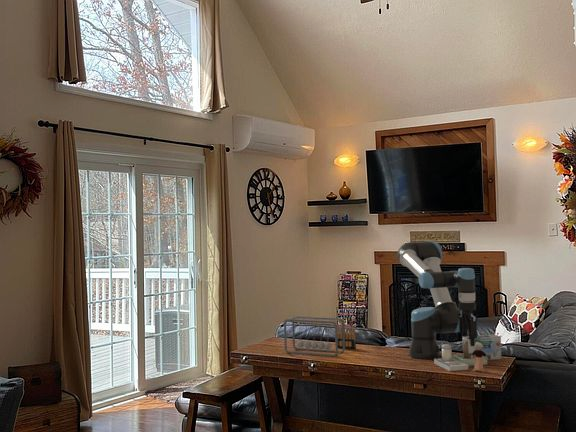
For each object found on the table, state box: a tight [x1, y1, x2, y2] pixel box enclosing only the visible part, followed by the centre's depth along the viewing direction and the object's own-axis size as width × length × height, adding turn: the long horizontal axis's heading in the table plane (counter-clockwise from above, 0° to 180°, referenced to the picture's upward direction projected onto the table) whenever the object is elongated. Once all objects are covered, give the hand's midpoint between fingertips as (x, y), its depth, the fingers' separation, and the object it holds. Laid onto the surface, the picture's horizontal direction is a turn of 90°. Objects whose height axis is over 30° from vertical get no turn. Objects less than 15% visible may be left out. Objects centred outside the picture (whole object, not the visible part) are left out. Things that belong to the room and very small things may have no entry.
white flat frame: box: [433, 358, 469, 372], centre depth 288 cm, size 16×9×3 cm, turn 11°
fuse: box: [441, 343, 453, 362], centre depth 292 cm, size 4×4×9 cm
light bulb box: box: [474, 333, 502, 361], centre depth 303 cm, size 11×7×11 cm, turn 103°
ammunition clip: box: [337, 325, 357, 350], centre depth 337 cm, size 11×2×12 cm, turn 63°
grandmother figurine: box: [471, 342, 489, 372], centre depth 278 cm, size 8×4×13 cm, turn 60°
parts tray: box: [452, 353, 488, 367], centre depth 294 cm, size 12×12×3 cm
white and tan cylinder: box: [462, 336, 474, 359], centre depth 295 cm, size 4×4×11 cm
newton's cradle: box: [283, 316, 346, 358], centre depth 327 cm, size 30×10×18 cm, turn 62°
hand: (468, 351), depth 294 cm, fingers open, 5 cm apart
